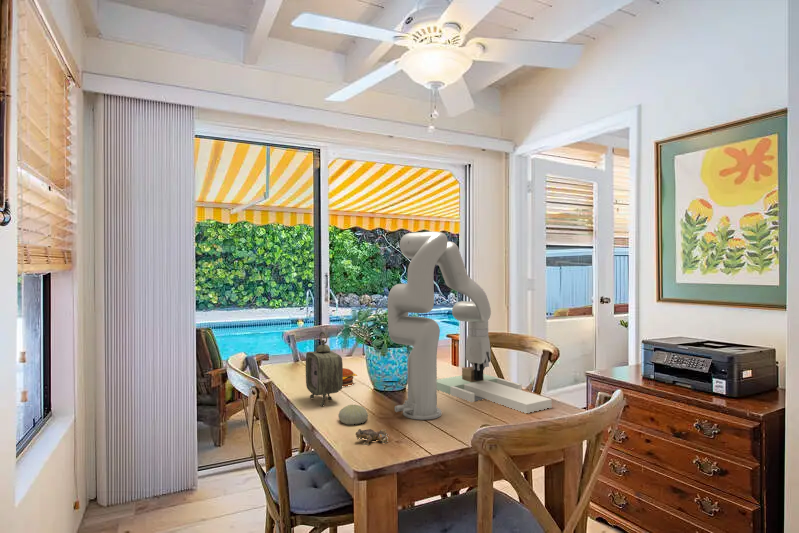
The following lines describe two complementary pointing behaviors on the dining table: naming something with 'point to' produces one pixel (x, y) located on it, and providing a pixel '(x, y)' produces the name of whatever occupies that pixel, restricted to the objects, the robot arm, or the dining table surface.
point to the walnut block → (469, 374)
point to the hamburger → (347, 377)
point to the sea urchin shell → (353, 414)
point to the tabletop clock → (323, 371)
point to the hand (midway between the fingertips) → (478, 380)
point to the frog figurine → (372, 435)
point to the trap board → (494, 392)
